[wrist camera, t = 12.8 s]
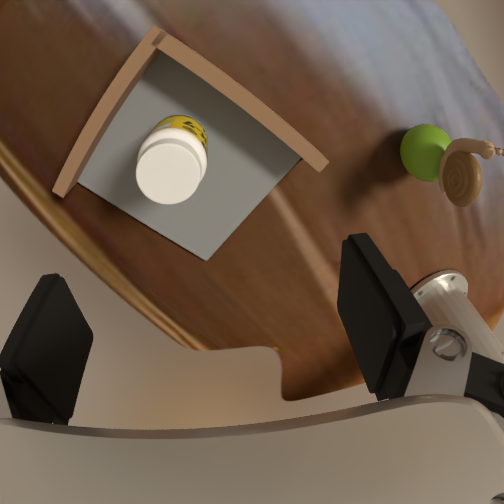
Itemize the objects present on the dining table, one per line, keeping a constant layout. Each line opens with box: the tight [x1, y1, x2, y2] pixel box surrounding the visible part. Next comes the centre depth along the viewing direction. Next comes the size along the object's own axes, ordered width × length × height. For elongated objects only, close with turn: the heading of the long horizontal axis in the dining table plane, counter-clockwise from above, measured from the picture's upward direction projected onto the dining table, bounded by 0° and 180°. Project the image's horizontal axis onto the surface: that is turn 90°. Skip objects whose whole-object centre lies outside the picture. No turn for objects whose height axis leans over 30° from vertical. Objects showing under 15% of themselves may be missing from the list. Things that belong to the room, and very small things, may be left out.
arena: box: [52, 26, 329, 261], centre depth 25 cm, size 17×15×4 cm
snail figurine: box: [400, 124, 504, 207], centre depth 23 cm, size 5×6×12 cm
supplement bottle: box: [136, 114, 208, 205], centre depth 22 cm, size 5×5×8 cm
